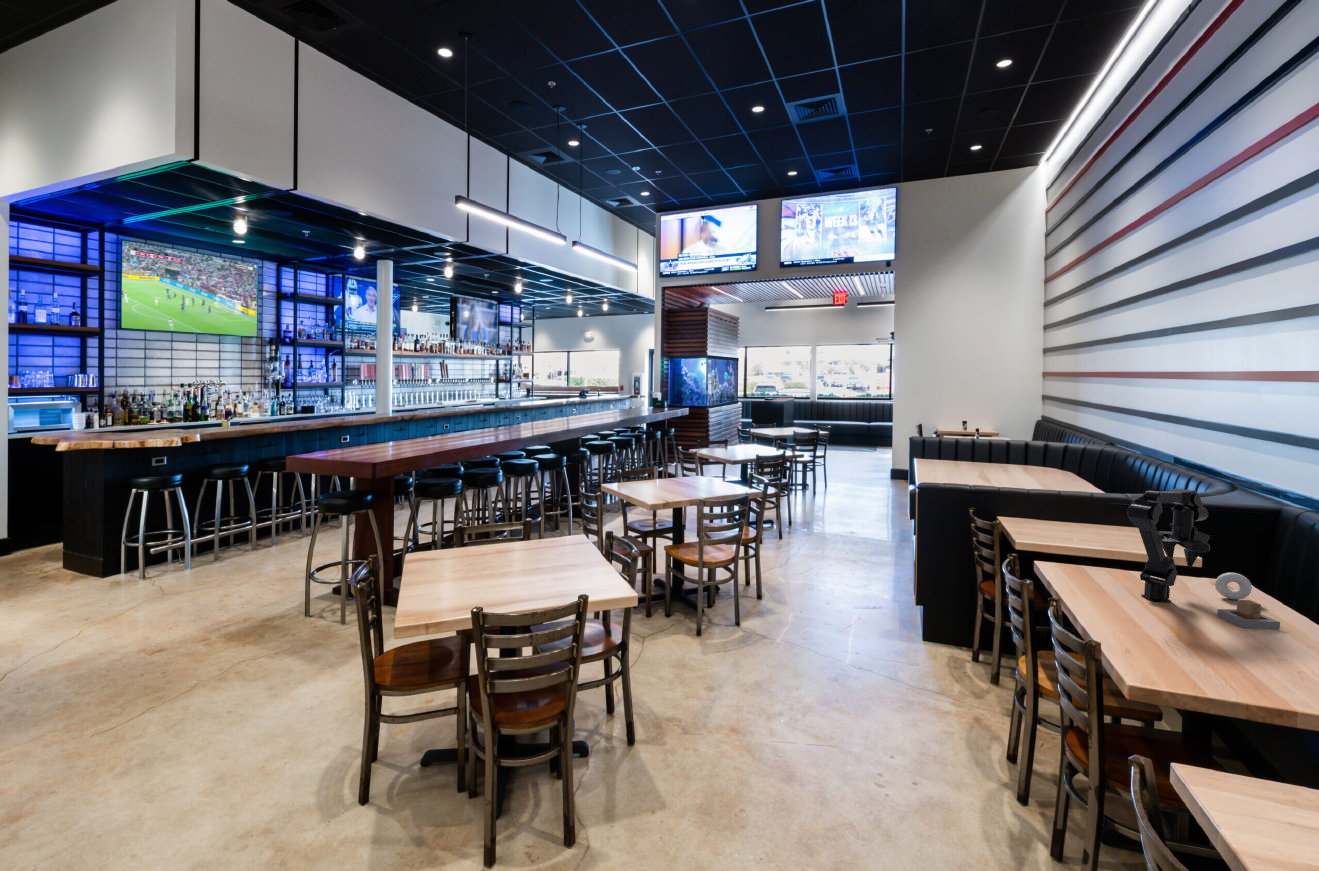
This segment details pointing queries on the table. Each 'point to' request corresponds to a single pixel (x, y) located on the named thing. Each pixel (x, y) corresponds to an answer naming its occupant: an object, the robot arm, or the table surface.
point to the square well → (1248, 620)
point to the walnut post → (1248, 609)
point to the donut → (1233, 594)
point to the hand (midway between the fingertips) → (1179, 563)
